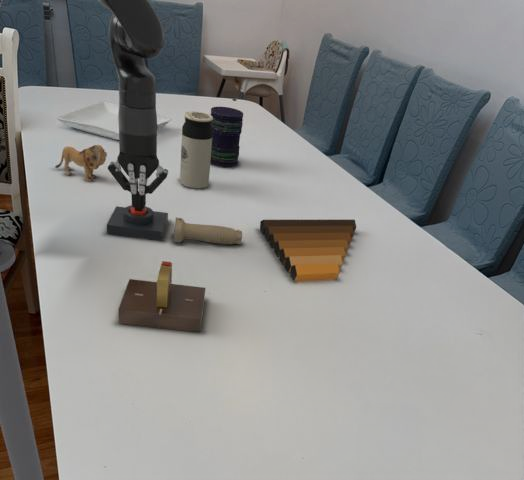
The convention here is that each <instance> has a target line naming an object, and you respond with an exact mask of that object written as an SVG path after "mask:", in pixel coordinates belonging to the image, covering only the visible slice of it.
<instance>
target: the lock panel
mask: <svg viewBox="0 0 524 480" xmlns="http://www.w3.org/2000/svg"><path fill="white" fill-rule="evenodd" d="M121 298H122V299H121V301H120V304H119V307H118V309H117V311H118V312H117V313H118V324H119V325H128V326H136V327H137V326H139V327H147V328H156V329H165V330H173V331H174V330H175V331H184V332H195V333H201V329H202V321H203V316H204V315H203V314H204V306H205V298H206V287H203V286H193V285H186V284H178V283H171V292H170V297H169V301H168V306H167V308H166V307H157V281H151V280H142V279H134V278H129V279H128V282H127V284H126V287H125V290H124V293H123V295H122V297H121Z"/></svg>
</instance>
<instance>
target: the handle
mask: <svg viewBox="0 0 524 480" xmlns="http://www.w3.org/2000/svg"><path fill="white" fill-rule="evenodd" d="M174 222H175V223H174V235H173V240H174V241H173V242H174V243H181V242H182V241H183V240H184V239H189V240H194V241H201V242H206V243H213V244H219V245H241V244H242V242H243V231H242V230H240V229H235V228H232V227H229V226H228V227H227V226H223V225H215V224H214V225H212V224H198V223H188V222H185V219H184V218H182V217H178V216H177V217H175V221H174Z"/></svg>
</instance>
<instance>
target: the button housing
mask: <svg viewBox="0 0 524 480" xmlns="http://www.w3.org/2000/svg"><path fill="white" fill-rule="evenodd" d="M131 207H132V204H131V205H127V206H126V207H124V206H118V205H116V206H115V208H114V210H113V212H112V213H111V215H110V218H109V219H108V221H107V223H106V234H107V235H114V236H119V237H120V236H121V237H128V238H137V239H144V240H145V239H146V240H152V241H154V240H155V241H163V238H164V235H165V232H166V228H167V226H168V222H169V212H163V211H156V210H153V209H152V208H151V207H148V206H146V205H145V208H146V209H147V214H145V215H134V214H131V213H130V208H131Z"/></svg>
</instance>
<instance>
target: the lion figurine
mask: <svg viewBox="0 0 524 480" xmlns="http://www.w3.org/2000/svg"><path fill="white" fill-rule="evenodd" d="M107 157H108V152H106V151H105V148H104V147H103V146H102V145H101V144H94V145H92V146H89V147H87V148H83V150H81V151H80V150H77V149H76V148H75V147H73V146H68V145H66V146H65V147H64V148H63V149H62V152H61V159H60V162H59V164H56V165H55V166H54V167H55V168H56V169H59V168H60V167H61V166H62V165H63V163H64V169H65V174H66V176H71V175H72V172H71V171H70V170H71V168H70V166H69V164H70V163H72V162H73V163H74V164H75V165H76V166H78V167H80V168H81V167H82V168H83V170H84V173H85V180H86V181H87V182H92V180H93V179H95V178H96V175H95V174H93V173H94V170H97V169H99V167H100V166H103V165H104V164H105V162H106V160H107Z"/></svg>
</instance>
